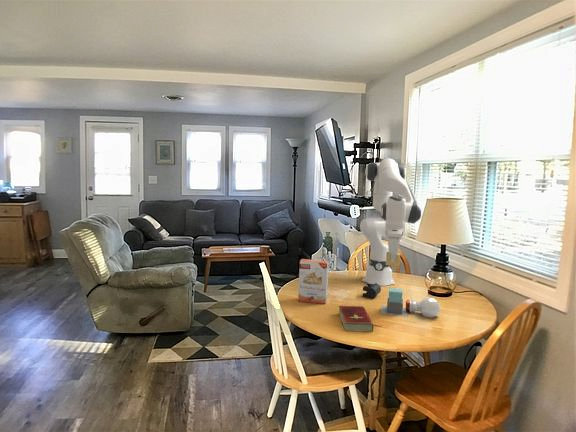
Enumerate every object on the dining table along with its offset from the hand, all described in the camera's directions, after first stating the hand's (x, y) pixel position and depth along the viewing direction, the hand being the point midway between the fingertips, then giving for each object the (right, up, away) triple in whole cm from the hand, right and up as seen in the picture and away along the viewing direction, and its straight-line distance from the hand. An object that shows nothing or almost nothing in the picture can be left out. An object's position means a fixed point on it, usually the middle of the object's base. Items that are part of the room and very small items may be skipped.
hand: (393, 260), depth 191 cm
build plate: (+1, -25, +2) cm, 25 cm away
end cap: (-5, -22, +25) cm, 34 cm away
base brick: (+1, -24, +2) cm, 24 cm away
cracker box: (-37, -23, +16) cm, 46 cm away
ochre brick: (0, -2, 0) cm, 2 cm away
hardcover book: (-20, -27, -10) cm, 34 cm away
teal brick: (+1, -19, +2) cm, 19 cm away
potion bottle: (+13, -26, -1) cm, 29 cm away
